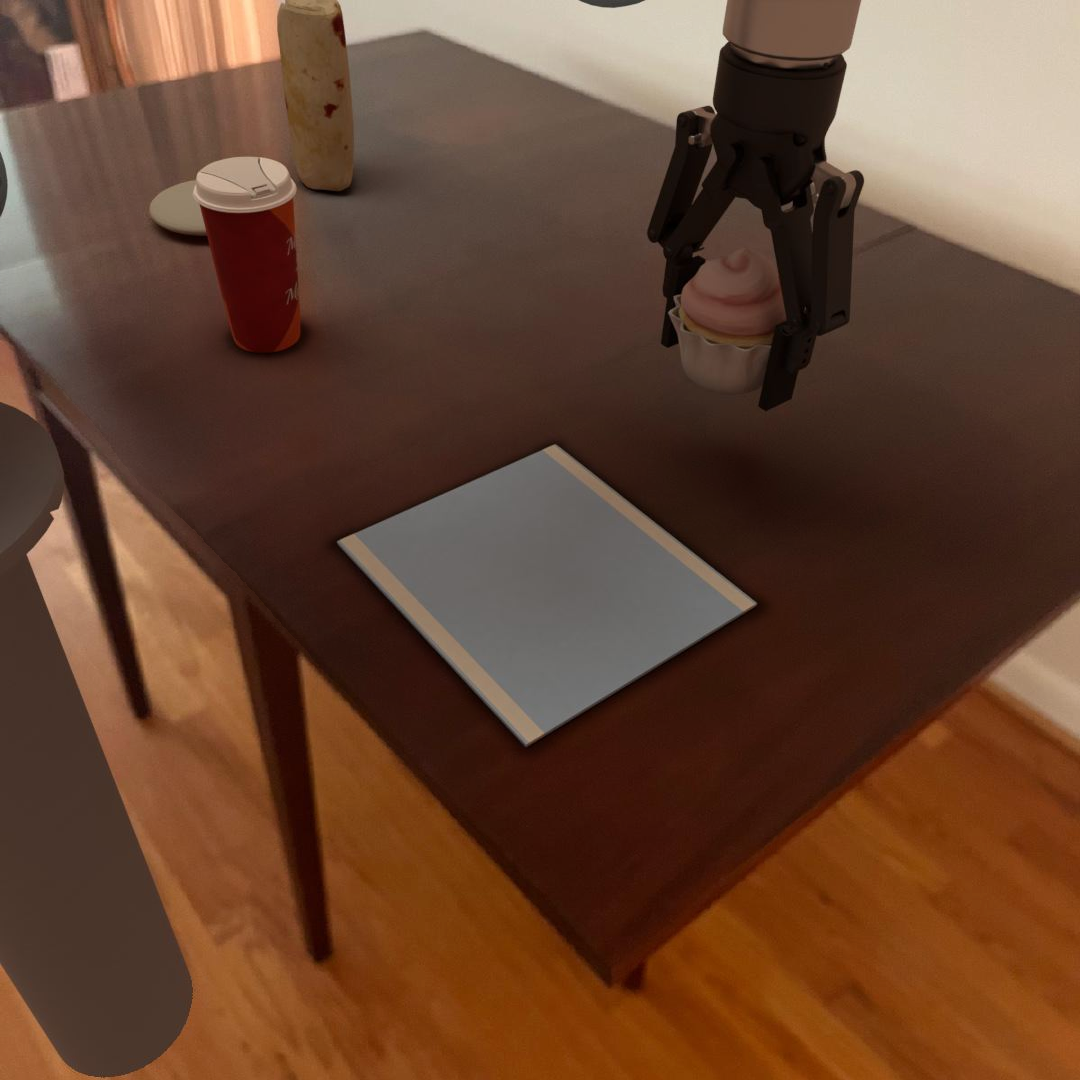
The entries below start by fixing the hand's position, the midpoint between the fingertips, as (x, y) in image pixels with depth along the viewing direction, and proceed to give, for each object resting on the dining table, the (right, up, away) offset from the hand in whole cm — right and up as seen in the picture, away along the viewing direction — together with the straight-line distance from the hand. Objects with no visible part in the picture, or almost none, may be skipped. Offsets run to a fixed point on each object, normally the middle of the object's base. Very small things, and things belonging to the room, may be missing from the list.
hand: (724, 370), depth 77 cm
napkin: (-13, -15, -4) cm, 20 cm away
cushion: (-48, +21, +34) cm, 63 cm away
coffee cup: (-38, +6, +18) cm, 43 cm away
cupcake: (0, 0, 0) cm, 0 cm away
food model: (-38, +28, +43) cm, 64 cm away
